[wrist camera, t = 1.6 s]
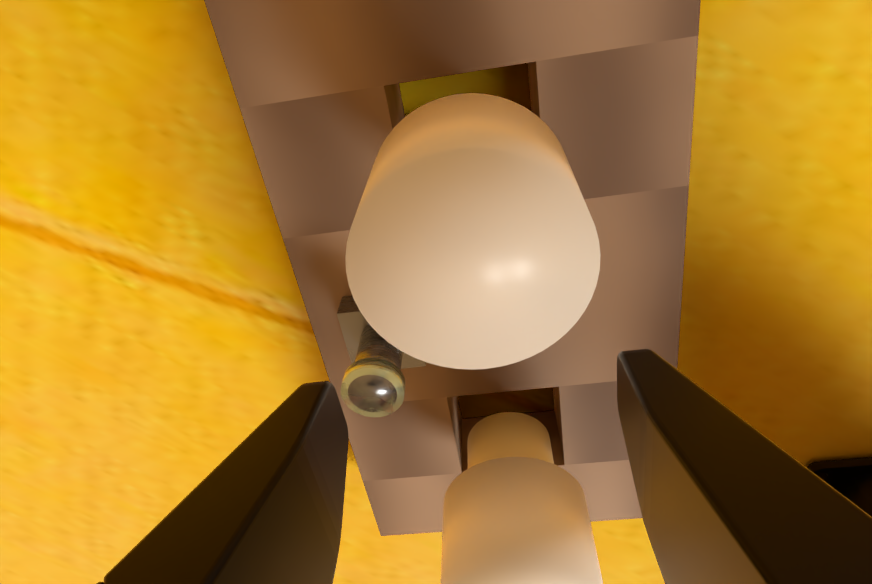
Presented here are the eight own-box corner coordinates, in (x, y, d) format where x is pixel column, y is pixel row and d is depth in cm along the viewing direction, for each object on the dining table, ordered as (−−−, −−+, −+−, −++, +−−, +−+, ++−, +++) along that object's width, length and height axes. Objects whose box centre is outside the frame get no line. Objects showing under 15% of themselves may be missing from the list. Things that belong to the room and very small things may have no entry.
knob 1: (549, 51, 15) (598, 127, 9) (559, 219, 17) (602, 357, 12) (367, 80, 15) (316, 169, 10) (401, 239, 18) (375, 379, 12)
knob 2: (569, 388, 21) (606, 555, 15) (574, 480, 23) (608, 651, 18) (436, 401, 21) (427, 566, 16) (455, 489, 23) (452, 658, 18)
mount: (669, -127, 16) (708, -136, 13) (648, 459, 27) (667, 516, 25) (232, -44, 17) (192, -37, 15) (388, 480, 29) (381, 535, 26)
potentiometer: (414, 287, 19) (405, 356, 16) (427, 347, 20) (421, 421, 17) (342, 296, 19) (320, 365, 17) (359, 354, 21) (341, 428, 18)
